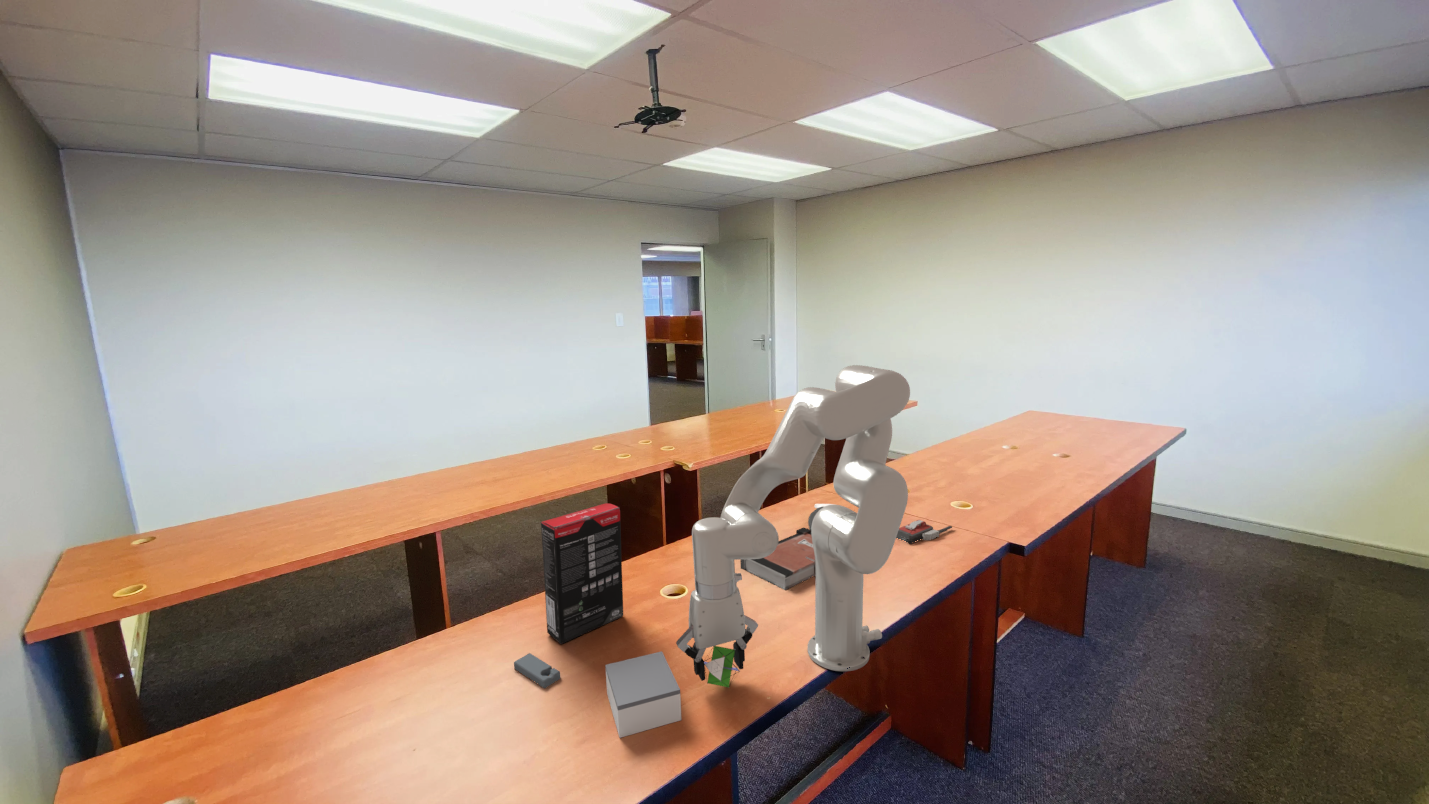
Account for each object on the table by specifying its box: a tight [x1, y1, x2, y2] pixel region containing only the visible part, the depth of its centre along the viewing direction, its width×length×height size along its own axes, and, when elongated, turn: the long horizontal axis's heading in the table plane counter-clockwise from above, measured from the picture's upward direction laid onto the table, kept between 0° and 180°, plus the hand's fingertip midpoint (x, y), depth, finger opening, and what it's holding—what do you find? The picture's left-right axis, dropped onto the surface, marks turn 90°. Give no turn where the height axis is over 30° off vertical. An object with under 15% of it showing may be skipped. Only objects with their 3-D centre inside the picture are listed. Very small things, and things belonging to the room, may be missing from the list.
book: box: [739, 527, 816, 591], centre depth 158 cm, size 26×18×5 cm
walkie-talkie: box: [896, 519, 953, 544], centre depth 176 cm, size 9×4×20 cm
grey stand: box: [604, 651, 682, 738], centre depth 103 cm, size 11×12×6 cm
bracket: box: [513, 652, 561, 689], centre depth 114 cm, size 4×10×2 cm, turn 52°
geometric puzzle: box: [704, 645, 741, 689], centre depth 108 cm, size 7×7×8 cm
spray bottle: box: [807, 503, 837, 530], centre depth 190 cm, size 3×11×25 cm
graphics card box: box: [540, 502, 624, 645], centre depth 128 cm, size 17×7×27 cm, turn 134°
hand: (719, 669), depth 108 cm, fingers closed on geometric puzzle, 7 cm apart
